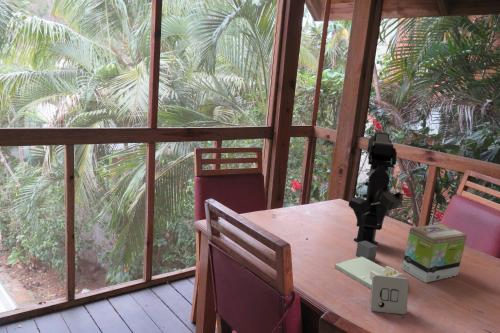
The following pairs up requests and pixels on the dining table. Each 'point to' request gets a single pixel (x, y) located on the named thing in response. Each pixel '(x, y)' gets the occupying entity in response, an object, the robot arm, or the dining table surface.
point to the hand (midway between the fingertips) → (370, 226)
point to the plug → (366, 250)
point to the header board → (365, 270)
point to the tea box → (433, 252)
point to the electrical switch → (389, 294)
